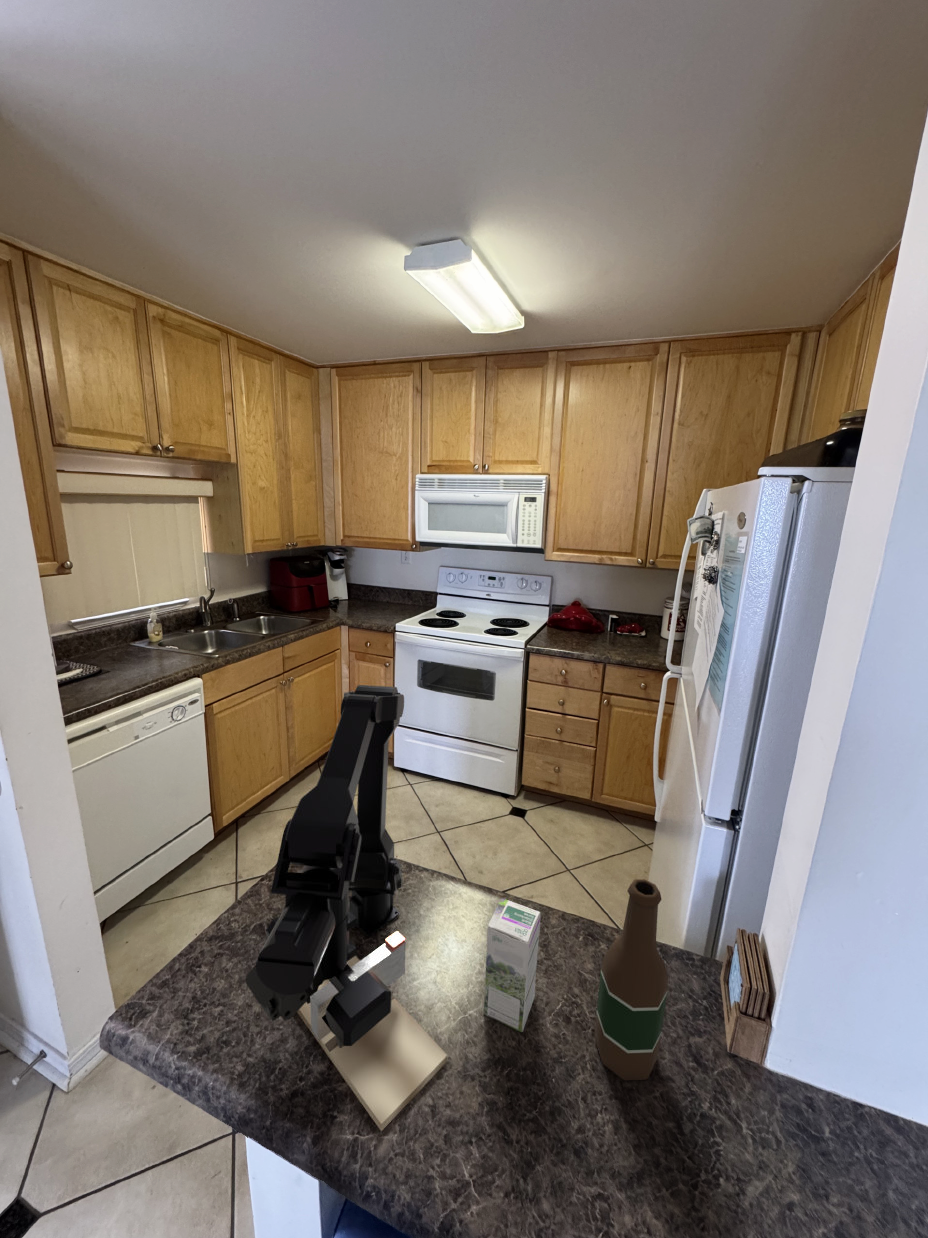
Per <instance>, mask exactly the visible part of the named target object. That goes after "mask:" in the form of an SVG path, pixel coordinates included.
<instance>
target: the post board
mask: <svg viewBox="0 0 928 1238" xmlns="http://www.w3.org/2000/svg"><path fill="white" fill-rule="evenodd" d="M359 961H361V959H359V958H358V956H357V955H356V956H354V957H353V958H352V959H350V960H349V961H347V964H348V965H349V966H350V967H352V966H354V965H355V964H356V963H358V962H359ZM328 983H330V981H329V980H325V981H323V983H322V984H321V985H320V986H319V987H318V990H320V989H321V988H323V987H324V986H325V985H327V984H328ZM296 1014H297V1015H299V1017H300V1019H301V1020H302V1021H303V1022H304V1024H305V1026H306V1027H307V1029H309V1031H310V1032H311V1034H312V1035H313V1037H314V1038H315V1040H316V1041H317V1043H318V1044H319V1045H320V1046H321V1048H322V1050H323V1051H324V1052H325V1054H326V1055H327V1057H328V1058H329V1060H330V1061H331V1062H332V1064H333V1065H334V1066H335V1069H337V1071H338V1072H339V1074H340V1076H341V1077H342V1078H343V1080H344V1081H345V1082H346V1084H347V1085H348V1086H349V1088H350V1089H351V1091H352V1092H353V1094H354V1095H355V1096H356V1098H357V1099H358V1101H359V1102H360V1104H361V1105H362V1106H363V1108H364V1109H365V1110H366V1112H367V1113H368V1115H369V1116H370V1118H371V1119H372V1121H373V1122H374V1123H375V1125H376V1126H377V1128H378V1129H379V1130H380V1132H382V1131H384V1129H385V1128H386V1127H387V1126H388V1125H389V1124H390V1123H391V1122H392V1121H393V1120H394V1119H395V1118H396V1116H398V1114H399V1113H401V1111H402V1110H403V1109H404V1108H405V1107H406V1106H407V1105H408V1104H409V1103H410V1102H411V1101H412V1099H414V1098H415V1096H417V1094H418V1093H419V1092H421V1090H422V1089H423V1088H424V1087H425V1086H426V1084H428V1082H430V1081H431V1079H432V1078H433V1077H435V1076H436V1075H437V1073H438V1072H439V1071H441V1069H442V1068H443V1067H444V1066H445V1065H446V1064H447V1062H448V1054H447V1053H446V1052H445V1051H444V1050H443V1049H442V1048H441V1047H440V1045H438V1043H436V1041H435V1040H434V1039H433V1038H432V1037H431V1036H430V1034H428V1033H427V1032H426V1030H424V1028H423V1027H422V1026H421V1025H420V1024H419V1023H418V1022H417V1021H416V1019H415V1018H414V1017H413V1016H412V1015H411V1014H410V1013H409V1012H408V1011H407V1010H406V1009H405V1008H404V1006H402V1005H401V1003H400V1002H399V1001H398V1000H397V999H396V998H395V996H394V995H393V994H392V1001H391V1012H390V1013H389V1014H388V1015H387V1016H386V1017H385V1018H383V1019H382V1020H381V1021H380V1022H379V1023H378V1024H376V1025H375V1026H374V1027H373V1028H372V1029H371V1030H369V1031H368V1032H367V1033H366V1034H365V1035H364V1036H362V1037H361V1038H360V1039H359V1040H358V1041H357V1042H355V1043H354V1044H353V1045H352V1046H343V1047H342V1048H339V1046H338V1043H337V1039H336V1035H334V1034H333V1033H332V1031H331V1032H330V1033H329V1034H328V1035H326V1036H325V1037H324V1038H322V1039H321V1040H320V1041H318V1039H317V1038H316V1036H315V1035H314V1033H313V1032H312V1030H311V1006H310V1003H309V1004H307V1003H305V1004H304V1005H303V1006H302V1007H301V1008H300V1009H299V1010H298V1011H297V1012H296Z"/></svg>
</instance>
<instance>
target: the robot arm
mask: <svg viewBox="0 0 928 1238" xmlns="http://www.w3.org/2000/svg"><path fill="white" fill-rule="evenodd" d="M404 707H405V696H404V694H402V693H401V692H398V687H396V686H383V685H365V684H358V685H357V686H356V688H355V690H353V691H352V690H351V691H347V692H343V698H342V700H341V705H340V718H339V720H338V721H339V722H338V723H337V727H336V730H335V732H334V735H333V738H332V741H331V744H330V747H329V751H328V753H327V755H326V759H325V761H324V764H323V767H322V770H321V773H320V775H319V778H318V781H317V783H316V785H315V786H314V787H312V789H310V790H309V791H308V792H306V793H305V794H304V795H303V796H302V797H301V798H300V799H299V801H298V803H297V806H296V808H295V810H294V813H293V815H292V817H291V818H290V819H289V820H288V821H287V823H286V824H285V826H284V827H285V828H284V829H283V834H282V837H281V843H280V847H279V852H278V855H277V856H278V857H277V861H276V866H275V871H274V875H273V881H272V885H271V890H270V891H271V892H270V893H271V895H282V896H285V897H284V898H285V904H284V909H283V910H282V912H281V915H279V916H277V917H275V918H273V919H272V920H271V921H270V923H269V925H268V926H267V927H266V929H265V937H266V939H265V940H266V941H265V943H264V945H263V947H262V948H261V950H260V952H259V954H258V956H257V959H256V962H255V965H254V966H253V967H252V968H251V969H250V970H249V971H248V973H247V974H246V976H245V983H246V985H247V987H248V989H249V990H250V992H251V994H252V995H253V997H254V998H255V1000H256V1002H257V1003H258V1004H259V1006H260V1007H261V1008H262V1010H263V1011H264V1012H265V1014H266V1015H267V1017H268V1018H269V1019H270V1020H271V1021H277V1019H279V1018H280V1017H281V1018H282V1019H283V1021H288V1020H291V1019H292V1018H293V1016H295V1014H297V1011H298V1010H299V1009H300V1008H301V1007H302V1006H303V1005H304V1004H305V1003H307V1004H309V1003H310V996H311V995H313V994H314V993H316V992H317V991H318V987H319V986H320V985H321V984H322V983H323V981H325V980H329V981H330V982H331V983H332V984H333V986H334V987H335V988H336V989H337V991H338V993H337V994H336V995H334V996H333V998H332V999H331V1001H330V1003H329V1005H328V1006H327V1008H326V1014H325V1015H324V1016H323V1017H322V1019H323V1021H324V1022H325V1023H326V1025H327V1026H328V1027H329V1029H330V1030H331V1031H332V1033H333V1034H334V1035H336V1039H337V1043H338V1046H339V1048H342V1047H343V1046H352V1045H353V1044H354V1043H355V1042H357V1041H358V1040H359V1039H360V1038H361V1037H362V1036H364V1035H365V1034H366V1033H367V1032H368V1031H369V1030H371V1029H372V1028H373V1027H374V1026H375V1025H376V1024H378V1023H379V1022H380V1021H381V1020H382V1019H383V1018H385V1017H386V1016H387V1015H388V1014H389V1013H390V1012H391V1001H392V995H393V994H392V993H393V992H392V990H391V989H390V988H389V987H387V986H386V985H385V984H384V983H383V982H382V981H381V980H380V979H379V978H378V977H377V976H376V974H375V973H374V972H370V971H366V972H365V973H364V974H362V975H361V976H360V977H359V976H358V975H357V974H356V973H355V972H354V971H353V970H352V968H351V967H350V966H349V965H348V964H347V961H349V960H350V959H352V958H353V957H354V956H356V957H357V953H358V949H357V947H356V945H355V944H354V943H353V942H352V941H351V940H350V931H351V929H353V928H355V927H356V928H357V929H359V930H360V931H361V932H362V933H363V934H364V936H366V937H371V936H373V935H374V934H376V933H377V932H378V931H379V930H381V929H383V928H384V927H385V926H386V925H388V924H389V923H391V922H392V921H394V920H396V918H398V917H399V916H400V911H399V910H398V909H397V908H396V907H394V896H395V895H396V891H397V890H398V889H400V888H402V886H403V873H402V868H401V867H402V862H401V861H400V860H399V859H397V858H395V843H394V841H393V838H392V837H391V836H390V834H389V832H388V831H387V829H386V817H387V815H386V814H387V793H388V792H387V789H388V787H387V786H388V771H389V770H388V768H389V767H388V766H389V765H388V764H389V746H390V744H389V743H390V738H391V736H392V735H393V734H394V732H395V731H396V729H397V728H398V726H399V725H400V722H401V721H400V720H401V718H402V717H403V715H404V709H405V708H404ZM356 792H357V801H356V802H357V804H356V807H355V805H354V800H355V796H356ZM356 808H357V809H356ZM291 864H292V865H294V866H295V865H296V866H303V867H302V870H301V871H300V872H295V871H289V869H290V865H291ZM349 891H351V896H350V897H349V895H350V894H349Z"/></svg>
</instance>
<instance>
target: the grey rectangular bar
mask: <svg viewBox="0 0 928 1238" xmlns="http://www.w3.org/2000/svg"><path fill="white" fill-rule="evenodd" d="M384 942H385V943H383V944H382V945H380V946H379V947H378V948H376V949H375V950H373V951H372V952H371V953H369V954H368V955H367V956H364V957H363V958H362V959H360V961H359V962H358V963H356V964H355V965H354V966H352V967H351V968H352V970H353V971H354V972H355V973H356V974H357V975H358V976H359V977H360V976H361V975H362V974H364V973H365V972H366V971H370V972H374V973H375V974H376V976H377V977H378V978H379V979H380V980H381V981H382V982H383V983H384V984H385V985H386V986H387V988H389V987H390V986H391V985H392V984H393V983H395V982H397V980H398V979H400V978H402V976H403V975H405V974H406V938H405V937H404V936H403V935H402V934H401V933H400V932H399V931H395V932H394V933H392V934H391V935H389V936H388V937H386V938H385V941H384ZM337 993H338V991H337V989H336V988H335V987H334V986H333V984H332V983H331V982H330V983H328V984H327V985H325V986H324V987H323V988H321V989H320V990H318V991H317V992H316V993H314V994H313V995H311V996H310V1006H311V1030H312V1032H313V1033H314V1035H315V1036H316V1038H317V1039H318V1041H320V1040H321V1039H322V1038H324V1037H325V1036H326V1035H328V1034H329V1033H330V1032H331V1030H330V1029H329V1027H328V1026H327V1025H326V1023H325V1022H324V1021H323V1019H322V1017H323V1016H324V1015H325V1014H326V1008H327V1006H328V1005H329V1003H330V1001H331V999H332V998H333V996H334V995H336V994H337ZM314 1035H313V1036H314ZM316 1038H315V1039H316ZM318 1041H317V1042H318Z"/></svg>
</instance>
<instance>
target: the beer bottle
mask: <svg viewBox="0 0 928 1238" xmlns="http://www.w3.org/2000/svg"><path fill="white" fill-rule="evenodd" d="M627 893H628V895H629V896H628V902H627V906H626V912H625V916H624V922H623V927H622V932H621V934H619V935H618V936H617V937H616V938H615V940H614V941H613V942H612V944H611V946H610V947H609V948H608V949H607V951H606V953H605V954H604V956H603V959H602V963H601V968H600V975H599V983H598V984H599V985H598V992H597V993H598V994H597V1003H596V1004H597V1005H596V1014H595V1019H594V1020H595V1022H594V1036H593V1037H594V1041H595V1043H596V1046H597V1051H598V1053H599V1056H600V1060H601V1063H602V1064H603V1065H604V1066H605V1067H607V1068H608V1069H609V1070H610V1071H611V1072H613V1073H614V1074H615V1075H617V1076H618V1077H619V1078H620V1079H621V1080H622V1081H642V1080H643V1081H644V1080H648V1079H649V1077H650V1074H651V1073H652V1070H653V1068H654V1067H655V1064H656V1063H657V1060H658V1056H659V1052H660V1045H661V1038H662V1033H663V1032H662V1031H663V1025H664V1018H665V1011H666V1004H667V996H668V990H669V989H668V988H669V987H668V986H669V975H668V971H667V967H666V965H665V962H664V960H663V959H662V957H661V955H660V953H659V950H658V947H657V933H658V932H657V930H658V912H659V911H658V910H659V904H660V903H661V902H662V900H663V899H662V895H661V892H660V890H659V889H658V886H657V885H656V883H654V882H653V883H652V882H651V881H649V880H647V879H644V878H643V879H641V878H640V879H638V878H637V879H633V881H632V882H631V883H630V885H629V886H628V888H627Z"/></svg>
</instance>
